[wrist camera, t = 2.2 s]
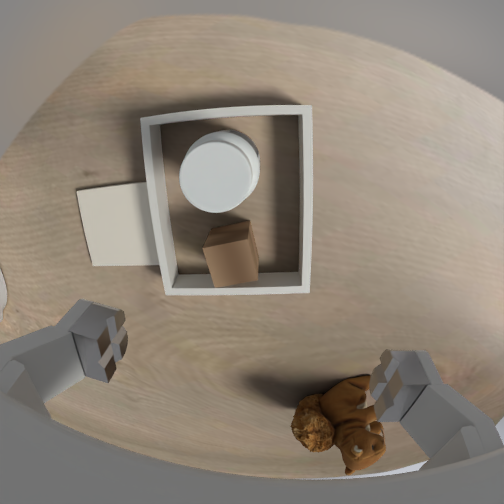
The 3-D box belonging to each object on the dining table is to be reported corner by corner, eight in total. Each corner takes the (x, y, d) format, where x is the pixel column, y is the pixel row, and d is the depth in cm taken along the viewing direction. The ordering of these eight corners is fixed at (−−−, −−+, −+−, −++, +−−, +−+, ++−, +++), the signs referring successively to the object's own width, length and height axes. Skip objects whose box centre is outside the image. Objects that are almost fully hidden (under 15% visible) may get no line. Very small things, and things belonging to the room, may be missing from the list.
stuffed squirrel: (366, 411, 43) (383, 476, 31) (283, 416, 43) (286, 487, 31) (384, 372, 39) (410, 444, 27) (290, 377, 39) (296, 459, 27)
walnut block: (221, 263, 32) (214, 287, 27) (211, 228, 30) (202, 248, 26) (258, 256, 32) (257, 280, 27) (250, 220, 30) (247, 239, 25)
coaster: (95, 263, 33) (93, 266, 32) (79, 190, 29) (76, 191, 28) (163, 262, 32) (162, 264, 32) (151, 180, 28) (149, 181, 28)
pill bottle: (191, 141, 27) (156, 152, 18) (248, 121, 26) (242, 119, 17) (211, 196, 29) (189, 231, 20) (268, 177, 28) (271, 205, 19)
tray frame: (173, 280, 33) (165, 295, 30) (151, 117, 26) (140, 118, 23) (305, 277, 32) (309, 292, 30) (306, 107, 25) (311, 105, 22)
